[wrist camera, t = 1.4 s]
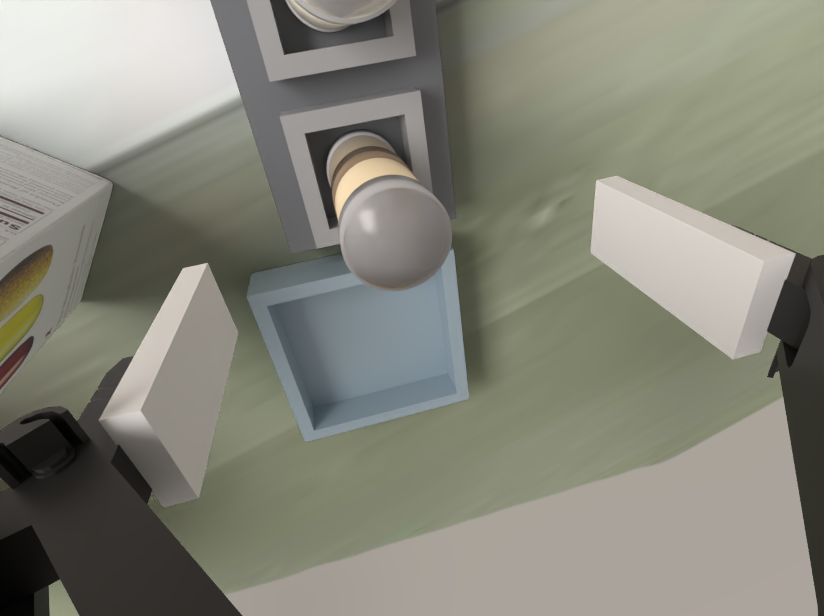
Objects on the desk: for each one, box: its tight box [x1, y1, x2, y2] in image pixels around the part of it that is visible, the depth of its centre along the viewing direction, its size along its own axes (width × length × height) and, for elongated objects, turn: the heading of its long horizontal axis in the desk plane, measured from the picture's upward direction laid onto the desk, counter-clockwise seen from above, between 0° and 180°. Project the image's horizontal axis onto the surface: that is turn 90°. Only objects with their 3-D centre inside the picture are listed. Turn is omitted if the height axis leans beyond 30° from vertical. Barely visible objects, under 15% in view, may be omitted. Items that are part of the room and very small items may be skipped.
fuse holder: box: [210, 0, 456, 254], centre depth 20 cm, size 11×18×15 cm, turn 9°
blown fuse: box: [326, 129, 452, 291], centre depth 21 cm, size 4×4×12 cm
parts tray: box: [246, 247, 469, 442], centre depth 35 cm, size 14×14×4 cm
